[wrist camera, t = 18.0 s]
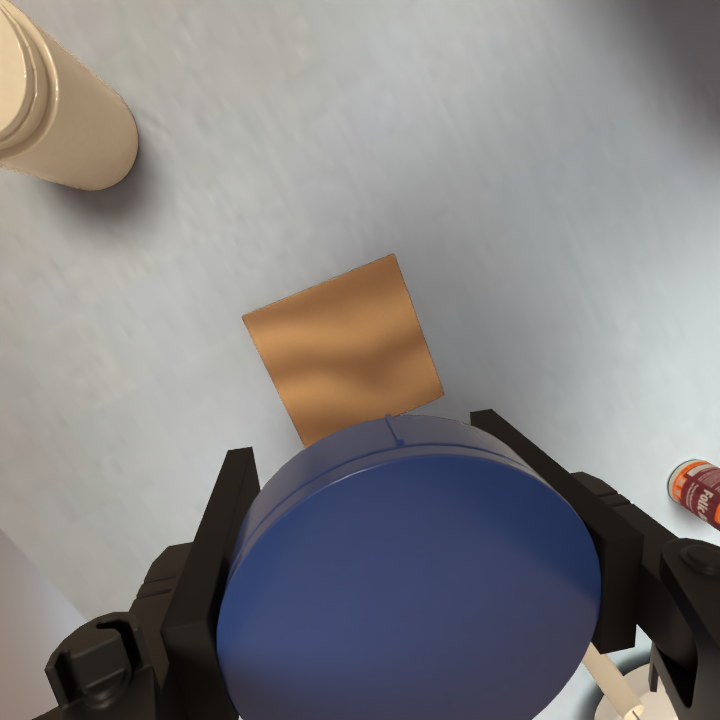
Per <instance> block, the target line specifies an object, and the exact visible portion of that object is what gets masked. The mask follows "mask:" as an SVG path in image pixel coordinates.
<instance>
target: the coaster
mask: <svg viewBox="0 0 720 720" xmlns="http://www.w3.org/2000/svg"><path fill="white" fill-rule="evenodd" d="M242 319H243V321H244V323H245V325H246V327H247V329H248V331H249V333H250V335H251V338H252V340H253V342H254V344H255V346H256V348H257V350H258V352H259V354H260V356H261V358H262V360H263V362H264V364H265V366H266V368H267V370H268V372H269V375H270V377H271V379H272V381H273V383H274V385H275V387H276V389H277V391H278V393H279V395H280V397H281V399H282V401H283V403H284V405H285V407H286V409H287V412H288V414H289V416H290V418H291V420H292V422H293V424H294V426H295V428H296V430H297V432H298V434H299V436H300V438H301V440H302V442H303V444H304V446H305V449H306V448H307V447H309V446H311V445H312V444H314V443H315V442H317V441H319V440H320V439H322V438H324V437H326V436H328V435H331V434H333V433H335V432H337V431H339V430H341V429H344V428H347V427H350V426H353V425H355V424H359V423H362V422H366V421H370V420H375V419H380V418H385V414H390V415H391V417H395V416H397V415H400V414H402V413H405V412H407V411H409V410H412V409H414V408H416V407H419V406H421V405H423V404H426V403H428V402H431V401H433V400H435V399H438V398H440V397H442V396H444V392H443V390H442V387H441V384H440V381H439V378H438V376H437V373H436V370H435V367H434V364H433V361H432V359H431V356H430V353H429V350H428V347H427V345H426V342H425V339H424V336H423V333H422V331H421V328H420V325H419V322H418V319H417V316H416V314H415V311H414V308H413V305H412V302H411V300H410V297H409V294H408V291H407V288H406V286H405V283H404V280H403V277H402V274H401V271H400V269H399V266H398V263H397V260H396V257H395V255H394V254H391V255H388V256H386V257H383V258H381V259H379V260H376V261H374V262H371V263H369V264H367V265H364V266H362V267H359V268H357V269H354V270H352V271H350V272H347V273H345V274H342V275H340V276H337V277H335V278H333V279H330V280H328V281H325V282H323V283H321V284H318V285H316V286H313V287H311V288H308V289H306V290H304V291H301V292H299V293H296V294H294V295H292V296H289V297H287V298H284V299H282V300H279V301H277V302H275V303H272V304H270V305H267V306H265V307H263V308H260V309H258V310H255V311H253V312H250V313H248V314H246V315H243V316H242Z"/></svg>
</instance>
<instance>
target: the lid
mask: <svg viewBox="0 0 720 720" xmlns="http://www.w3.org/2000/svg"><path fill="white" fill-rule="evenodd" d="M600 599H601V571H600V565H599V559H598V556H597V553H596V550H595V546H594V543H593V540H592V538H591V536H590V534H589V532H588V530H587V528H586V526H585V524H584V523H583V521H582V519H581V518H580V517H579V515H578V514H577V513H576V511H575V510H574V509H573V508H572V506H571V505H570V504H569V503H568V502H567V501H566V500H565V499H564V498H563V497H562V496H561V495H560V494H559V493H558V492H557V491H556V490H554V489H553V488H552V487H551V486H550V485H549V484H548V483H547V482H546V481H545V480H544V479H543V478H542V477H541V476H540V475H539V474H538V473H537V472H536V471H534V470H533V469H532V468H531V467H530V466H529V465H528V464H527V463H526V462H525V461H524V460H523V459H522V458H521V457H520V456H519V455H518V454H516V453H515V452H514V451H513V450H512V449H511V448H510V447H509V446H507V445H506V444H505V443H503V442H502V441H500V440H499V439H497V438H496V437H494V436H493V435H491V434H489V433H487V432H485V431H483V430H480V429H478V428H476V427H474V426H471V425H468V424H465V423H462V422H459V421H455V420H450V419H445V418H439V417H434V416H414V415H408V416H395V417H391V415H390V414H385V418H380V419H375V420H370V421H366V422H362V423H359V424H355V425H353V426H350V427H347V428H344V429H341V430H339V431H337V432H335V433H333V434H331V435H328V436H326V437H324V438H322V439H320V440H319V441H317V442H315V443H314V444H312V445H311V446H309V447H307V448H306V449H304V450H303V451H301V452H300V453H298V454H297V455H296V456H295V457H293V458H292V459H291V460H290V461H289V462H287V463H286V464H285V465H284V466H282V467H281V468H280V469H279V471H278V472H277V473H276V474H275V475H274V476H273V477H272V478H271V479H270V480H269V481H268V482H267V483H266V484H265V486H264V487H263V489H262V490H261V491H260V493H259V494H258V496H257V497H256V498H255V500H254V501H253V503H252V505H251V507H250V508H249V510H248V512H247V514H246V516H245V518H244V520H243V522H242V525H241V528H240V531H239V534H238V536H237V539H236V543H235V547H234V552H233V556H232V560H231V564H230V569H229V573H228V577H227V581H226V586H225V590H224V594H223V598H222V603H221V607H220V613H219V618H218V623H217V631H216V651H217V655H218V659H219V664H220V668H221V672H222V676H223V679H224V683H225V687H226V690H227V694H228V697H229V699H230V701H231V702H232V704H233V706H234V708H235V710H236V711H237V713H238V714H239V715H240V716H241V718H242V719H243V720H532V719H533V718H534V717H535V716H537V715H538V714H539V713H540V712H541V711H542V710H543V709H544V708H546V707H547V706H548V705H549V703H550V702H551V701H552V700H553V699H554V698H555V697H556V696H557V695H558V694H559V693H560V692H561V690H562V689H563V688H564V686H565V685H566V684H567V682H568V681H569V680H570V678H571V677H572V676H573V674H574V673H575V671H576V669H577V668H578V666H579V664H580V663H581V661H582V659H583V658H584V656H585V654H586V651H587V649H588V647H589V645H590V642H591V640H592V638H593V635H594V631H595V628H596V625H597V621H598V618H599V610H600Z"/></svg>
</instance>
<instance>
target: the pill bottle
mask: <svg viewBox="0 0 720 720" xmlns="http://www.w3.org/2000/svg"><path fill="white" fill-rule="evenodd" d="M669 493H670V496H671V497H672V498H673V499H674V500H675V501H676V502H678V503H679V504H681V505H682V506H684V507H685V508H686V509H688V510H689V511H691V512H692V513H694V514H695V515H696V516H698V517H700V518H701V519H703V520H704V521H705V522H707V523H708V524H710V525H711V526H713V527H714V528H716V529H717V530H719V531H720V468H718V467H716V466H714V465H712V464H710V463H708V462H706V461H703V460H692V461H688V462H686V463H684V464H682V465H681V466H679V467H678V468H677V469H676V470H675V472H674V473H673V474H672V476H671V478H670V481H669Z"/></svg>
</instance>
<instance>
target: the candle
mask: <svg viewBox="0 0 720 720" xmlns="http://www.w3.org/2000/svg"><path fill="white" fill-rule="evenodd" d="M582 662H583V664H584V665H585V667H586V668H587V670H588V671H589V672H590V674H591V675H592V677H593V678H594V680H595V681H596V683H597V684H598V686H599V687H600V688H601V690H602V691H603V693H604V694H605V696H606V697H607V698H608V700H609V701H610V702H611V704H612V705H613V706H614V708H615V709H616V711H617V712H618V713H619V715H620V716H621V717H622V719H623V720H635V719H636V718H637V720H640V719H639V718H638V717H639V716H640V715H641V714H642V712H643V711H644V706H643V704H642V703H641V701H640V700H639V698H638V697H637V695H636V694H635V693H634V691H633V690H632V688H631V687H630V685H629V684H628V683H627V681H626V680H625V678H624V677H623V676H622V674H621V673H620V672H619V670H618V669H617V667H616V666H615V665H614V663H613V662H612V661H611V659H610V658H609V657H608V655H607V654H602V655H600V653H599V652H598V651H597V649H596V648H595V647H594V645H593V644H592V643H591V642H590V645H589V647H588V649H587V651H586V654H585V656H584V658H583V659H582Z"/></svg>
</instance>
